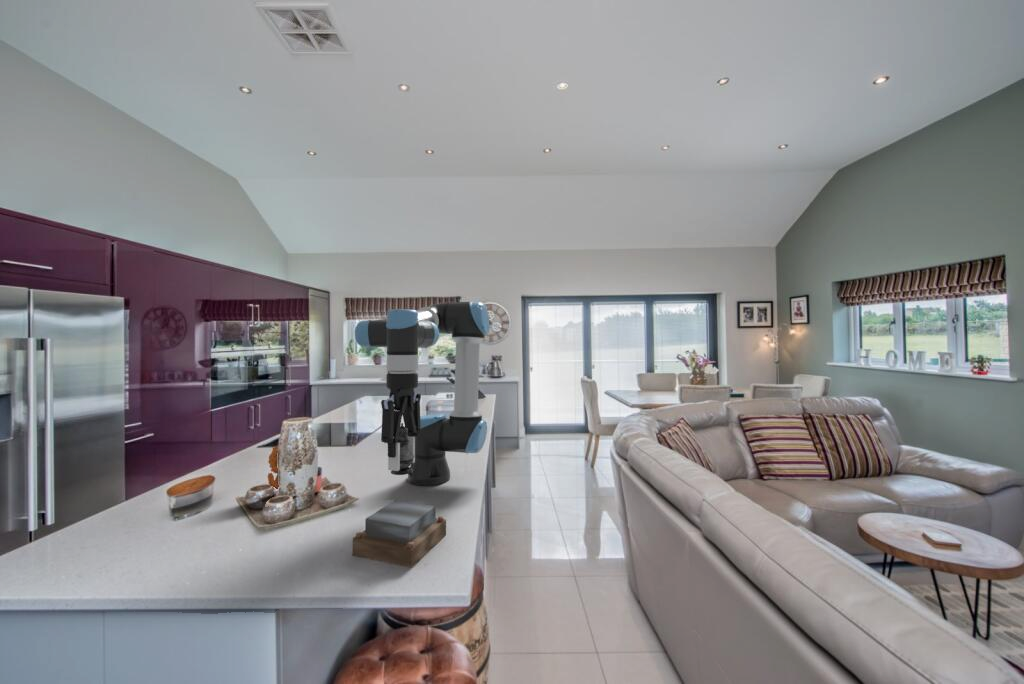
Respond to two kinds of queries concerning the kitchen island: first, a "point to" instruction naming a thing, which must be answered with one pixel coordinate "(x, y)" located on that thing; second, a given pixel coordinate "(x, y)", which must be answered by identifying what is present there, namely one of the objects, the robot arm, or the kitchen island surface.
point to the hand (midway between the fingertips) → (401, 465)
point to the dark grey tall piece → (404, 453)
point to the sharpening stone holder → (400, 533)
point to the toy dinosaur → (273, 468)
